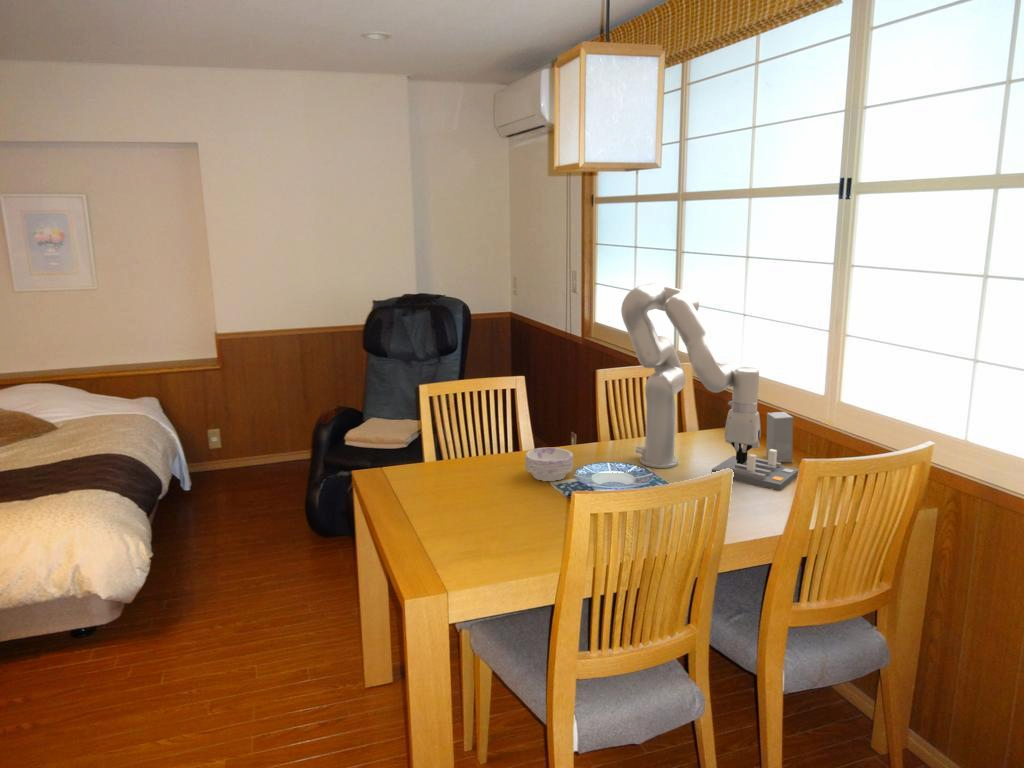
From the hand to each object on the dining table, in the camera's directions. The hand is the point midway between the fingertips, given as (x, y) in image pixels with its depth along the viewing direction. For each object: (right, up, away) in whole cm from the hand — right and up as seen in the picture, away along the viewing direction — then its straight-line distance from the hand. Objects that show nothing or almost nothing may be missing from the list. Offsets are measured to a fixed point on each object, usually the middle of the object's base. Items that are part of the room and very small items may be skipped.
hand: (741, 462), depth 234 cm
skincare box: (+18, -1, +18) cm, 25 cm away
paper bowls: (-61, -5, +3) cm, 61 cm away
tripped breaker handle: (+3, -3, -1) cm, 4 cm away
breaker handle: (+11, -2, +3) cm, 11 cm away
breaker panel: (+5, -4, +3) cm, 7 cm away
